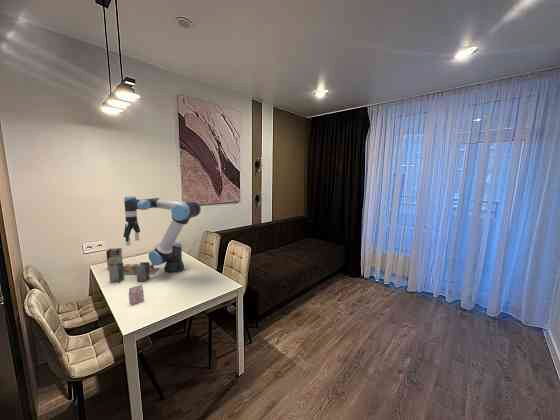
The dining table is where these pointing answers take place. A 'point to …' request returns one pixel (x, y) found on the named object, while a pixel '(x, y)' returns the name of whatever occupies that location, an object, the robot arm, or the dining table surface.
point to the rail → (133, 267)
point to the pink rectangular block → (136, 294)
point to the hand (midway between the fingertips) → (132, 242)
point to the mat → (136, 272)
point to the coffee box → (114, 256)
